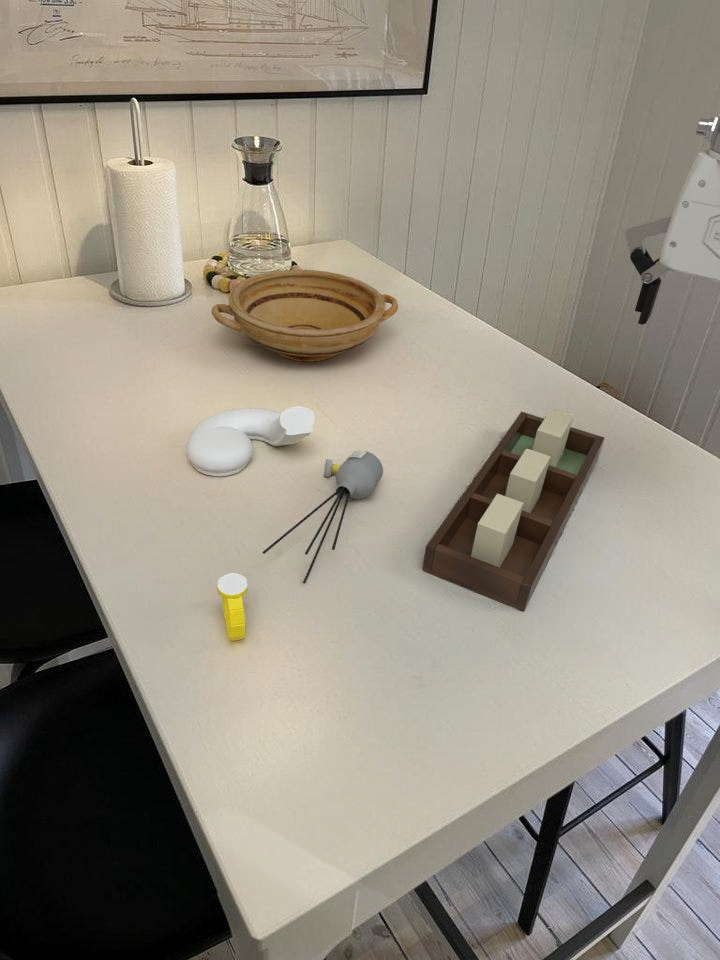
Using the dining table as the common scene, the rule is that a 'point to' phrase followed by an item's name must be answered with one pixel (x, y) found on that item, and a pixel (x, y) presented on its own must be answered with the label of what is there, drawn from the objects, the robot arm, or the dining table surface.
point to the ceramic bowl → (305, 312)
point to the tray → (534, 529)
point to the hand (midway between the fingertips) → (694, 332)
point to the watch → (233, 603)
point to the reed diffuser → (345, 490)
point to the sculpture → (243, 436)
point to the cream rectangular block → (553, 435)
